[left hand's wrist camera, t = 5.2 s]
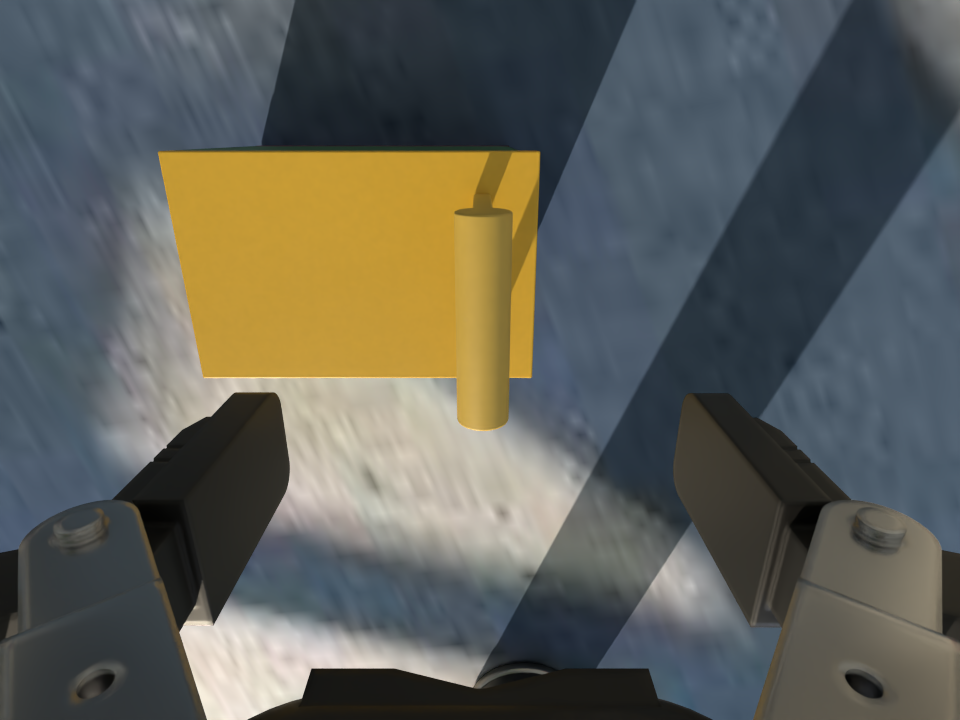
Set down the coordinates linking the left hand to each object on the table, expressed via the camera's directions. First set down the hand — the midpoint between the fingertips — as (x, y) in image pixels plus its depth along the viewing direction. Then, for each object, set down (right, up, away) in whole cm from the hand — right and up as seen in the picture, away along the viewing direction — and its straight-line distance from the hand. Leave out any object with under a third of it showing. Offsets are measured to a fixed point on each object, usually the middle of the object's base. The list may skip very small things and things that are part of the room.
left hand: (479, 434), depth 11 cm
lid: (-5, +6, +14) cm, 16 cm away
